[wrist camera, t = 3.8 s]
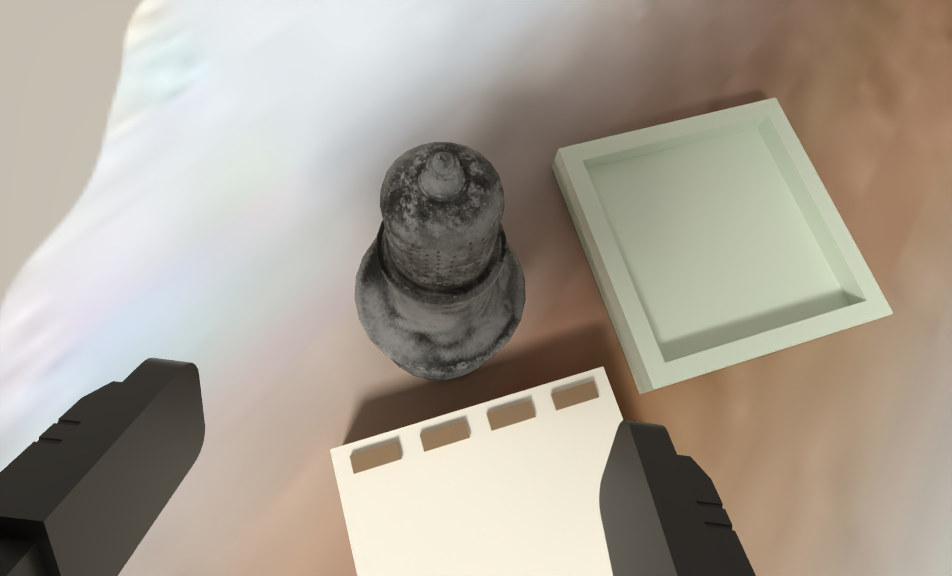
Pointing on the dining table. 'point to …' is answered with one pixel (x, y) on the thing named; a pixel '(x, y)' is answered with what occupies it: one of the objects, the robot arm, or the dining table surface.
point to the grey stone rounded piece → (440, 265)
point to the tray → (713, 242)
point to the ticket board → (486, 487)
